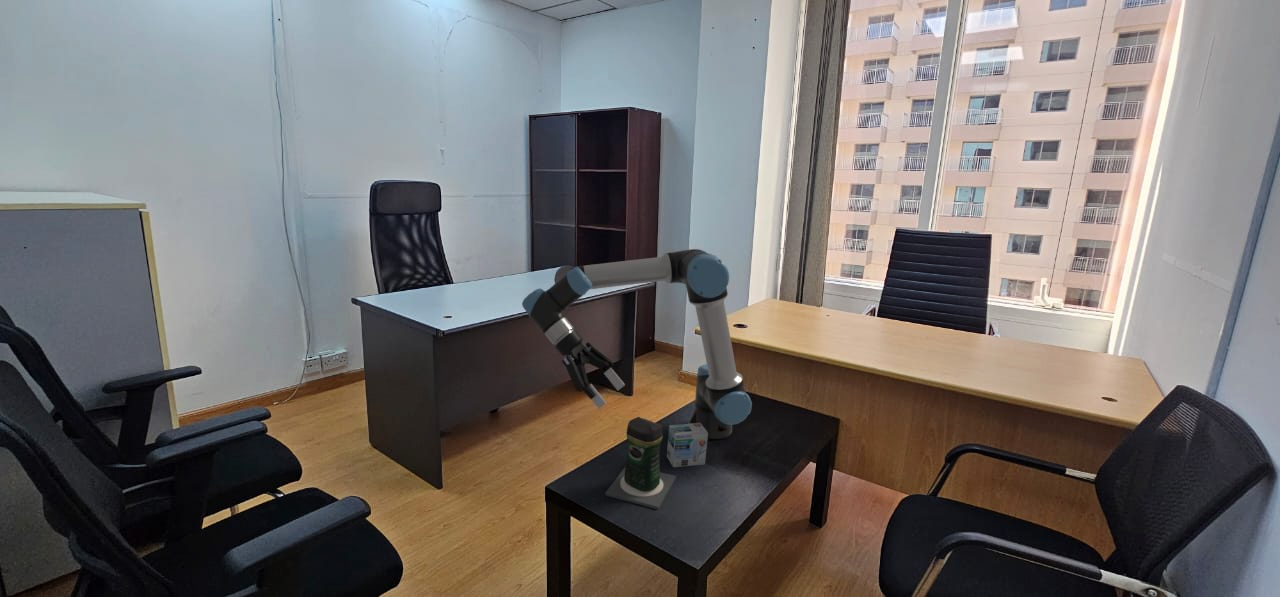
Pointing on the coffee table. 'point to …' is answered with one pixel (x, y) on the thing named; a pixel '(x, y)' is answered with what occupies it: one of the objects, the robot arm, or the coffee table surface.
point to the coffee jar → (643, 454)
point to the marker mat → (634, 495)
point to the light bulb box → (687, 444)
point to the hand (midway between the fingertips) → (612, 396)
